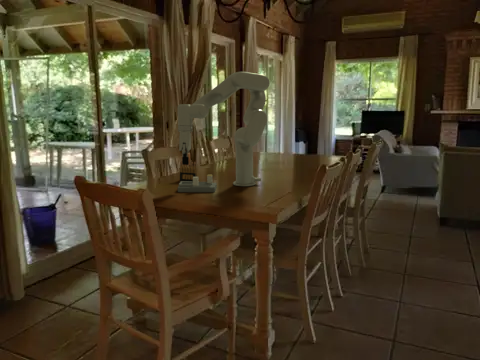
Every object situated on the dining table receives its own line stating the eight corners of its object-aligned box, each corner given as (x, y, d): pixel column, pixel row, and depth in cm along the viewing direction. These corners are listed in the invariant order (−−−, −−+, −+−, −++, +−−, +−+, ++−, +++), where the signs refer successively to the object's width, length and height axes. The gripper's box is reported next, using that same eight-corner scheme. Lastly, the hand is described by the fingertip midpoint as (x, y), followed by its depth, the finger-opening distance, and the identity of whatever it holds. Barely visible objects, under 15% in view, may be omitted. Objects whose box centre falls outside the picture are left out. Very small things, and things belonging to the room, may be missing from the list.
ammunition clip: (179, 180, 237) (179, 160, 235) (181, 180, 239) (180, 160, 237) (196, 181, 234) (195, 161, 231) (197, 181, 235) (196, 160, 233)
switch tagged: (212, 183, 216) (212, 174, 215) (212, 184, 213) (211, 175, 212) (207, 183, 216) (207, 174, 215) (207, 184, 213) (207, 175, 212)
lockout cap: (191, 164, 212) (190, 152, 211) (189, 165, 208) (189, 153, 207) (182, 164, 212) (182, 152, 211) (181, 165, 208) (181, 153, 207)
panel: (216, 187, 218) (216, 180, 218) (214, 192, 207) (214, 185, 206) (181, 187, 219) (181, 180, 218) (177, 192, 207) (177, 185, 206)
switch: (198, 185, 210) (198, 176, 209) (197, 186, 207) (197, 177, 206) (193, 185, 210) (193, 176, 209) (193, 186, 207) (192, 177, 206)
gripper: (180, 127, 215) (181, 161, 218) (175, 129, 198) (176, 166, 202) (194, 127, 215) (195, 161, 218) (190, 129, 198) (191, 166, 202)
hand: (186, 163), depth 210 cm, fingers closed on lockout cap, 4 cm apart
